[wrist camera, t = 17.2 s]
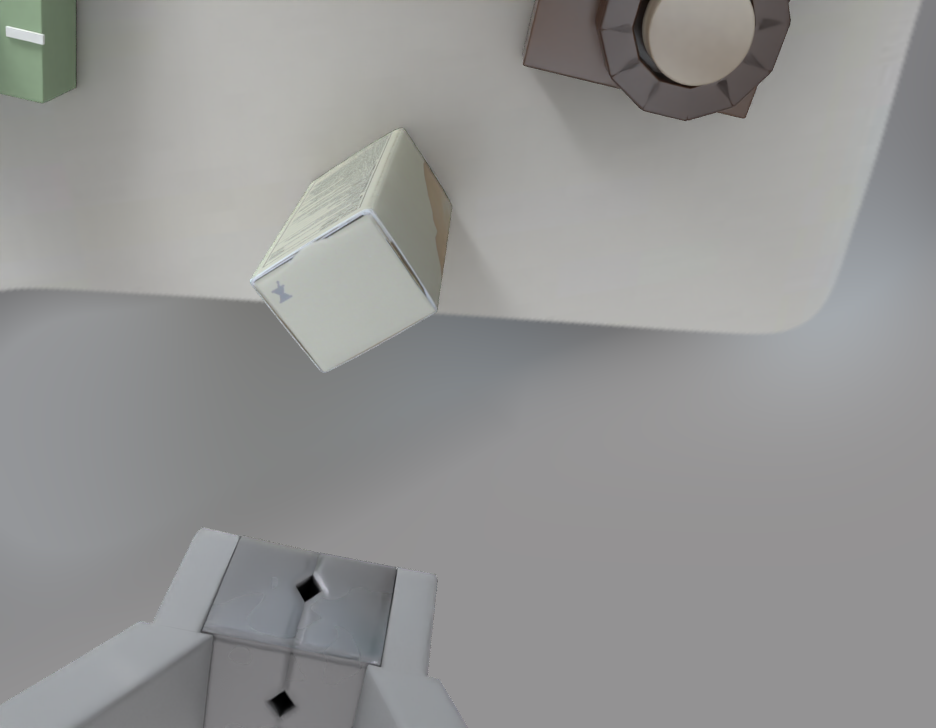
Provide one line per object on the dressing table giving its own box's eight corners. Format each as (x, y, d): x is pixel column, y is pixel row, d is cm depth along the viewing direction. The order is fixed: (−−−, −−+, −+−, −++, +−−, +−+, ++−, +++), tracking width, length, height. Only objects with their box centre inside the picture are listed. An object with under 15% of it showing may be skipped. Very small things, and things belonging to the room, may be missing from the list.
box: (362, 259, 40) (314, 381, 31) (307, 181, 39) (238, 283, 29) (460, 204, 39) (441, 314, 29) (406, 119, 37) (369, 206, 27)
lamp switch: (660, -42, 30) (668, -38, 29) (759, -17, 31) (772, -11, 29) (628, 63, 32) (634, 72, 31) (722, 86, 32) (732, 96, 31)
